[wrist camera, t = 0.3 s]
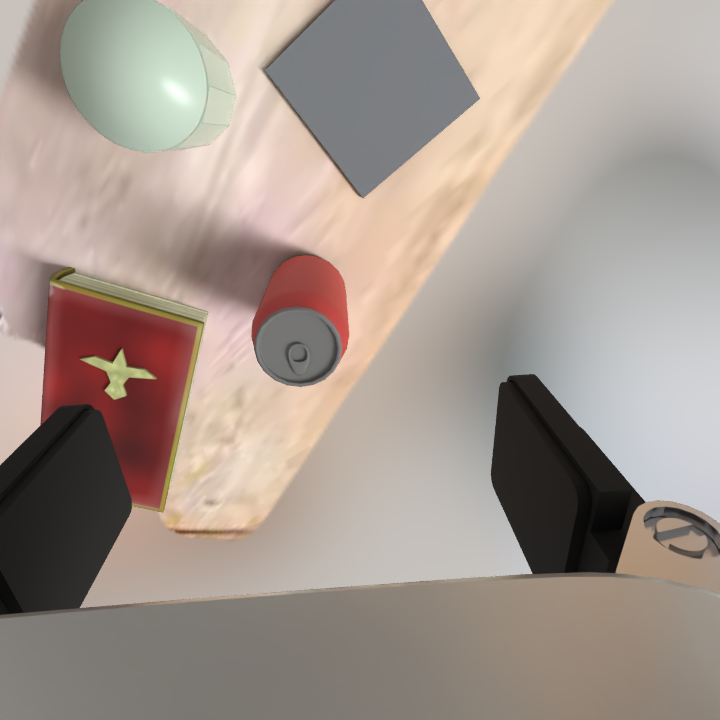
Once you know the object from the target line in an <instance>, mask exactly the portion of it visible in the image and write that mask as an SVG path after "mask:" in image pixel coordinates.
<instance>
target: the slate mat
mask: <svg viewBox="0 0 720 720" xmlns="http://www.w3.org/2000/svg"><path fill="white" fill-rule="evenodd" d="M265 71H266V72H267V74H268V75H269V76H270V78H271V79H272V80H273V81H274V83H275V84H276V85H277V87H278V88H279V89H280V91H281V92H282V93H283V95H284V96H285V97H286V98H287V100H288V101H289V102H290V104H291V105H292V106H293V108H294V109H295V110H296V112H297V113H298V114H299V115H300V117H301V118H302V119H303V121H304V122H305V123H306V125H307V126H308V127H309V128H310V130H311V131H312V132H313V134H314V135H315V136H316V138H317V139H318V140H319V142H320V143H321V144H322V145H323V147H324V148H325V149H326V151H327V152H328V153H329V155H330V156H331V157H332V159H333V160H334V161H335V162H336V164H337V165H338V166H339V168H340V169H341V170H342V172H343V173H344V174H345V176H346V177H347V178H348V179H349V181H350V182H351V183H352V185H353V186H354V187H355V189H356V190H357V191H358V193H359V194H360V195H361V196H362V198H364V197H365V196H366V195H368V194H369V193H370V192H371V191H372V190H373V189H375V188H376V187H377V186H378V185H379V184H380V183H382V182H383V181H384V180H385V179H386V178H387V177H389V176H390V175H391V174H392V173H393V172H394V171H396V170H397V169H398V168H399V167H400V166H402V165H403V164H404V163H405V162H406V161H407V160H409V159H410V158H411V157H412V156H413V155H414V154H416V153H417V152H418V151H419V150H420V149H421V148H423V147H424V146H425V145H426V144H427V143H428V142H430V141H431V140H432V139H433V138H434V137H436V136H437V135H438V134H439V133H440V132H441V131H443V130H444V129H445V128H446V127H447V126H448V125H450V124H451V123H452V122H453V121H454V120H455V119H457V118H458V117H459V116H460V115H461V114H463V113H464V112H465V111H466V110H467V109H468V108H470V107H471V106H472V105H473V104H474V103H475V102H477V101H478V100H479V99H480V98H479V96H478V94H477V92H476V91H475V89H474V87H473V86H472V84H471V82H470V81H469V79H468V77H467V76H466V74H465V72H464V70H463V69H462V67H461V65H460V64H459V62H458V60H457V59H456V57H455V55H454V54H453V52H452V50H451V48H450V47H449V45H448V43H447V42H446V40H445V38H444V37H443V35H442V33H441V32H440V30H439V28H438V26H437V25H436V23H435V21H434V20H433V18H432V16H431V15H430V13H429V11H428V10H427V8H426V6H425V4H424V3H423V1H422V0H335V1H334V2H333V3H332V4H331V5H330V6H329V7H328V8H327V9H326V10H325V11H324V12H323V13H322V14H321V15H320V16H319V17H318V18H317V19H316V20H315V21H314V22H313V23H312V24H311V25H310V26H309V27H308V28H307V29H306V30H305V31H304V32H303V33H302V34H301V35H300V36H299V37H298V38H297V39H296V40H295V41H294V42H293V43H292V44H291V45H290V46H289V47H288V48H287V49H286V50H285V51H284V52H283V53H282V54H281V55H280V56H279V57H278V58H277V59H276V60H275V61H274V62H273V63H272V64H271V65H270V66H269V67H268V68H267V69H266V70H265Z"/></svg>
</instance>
